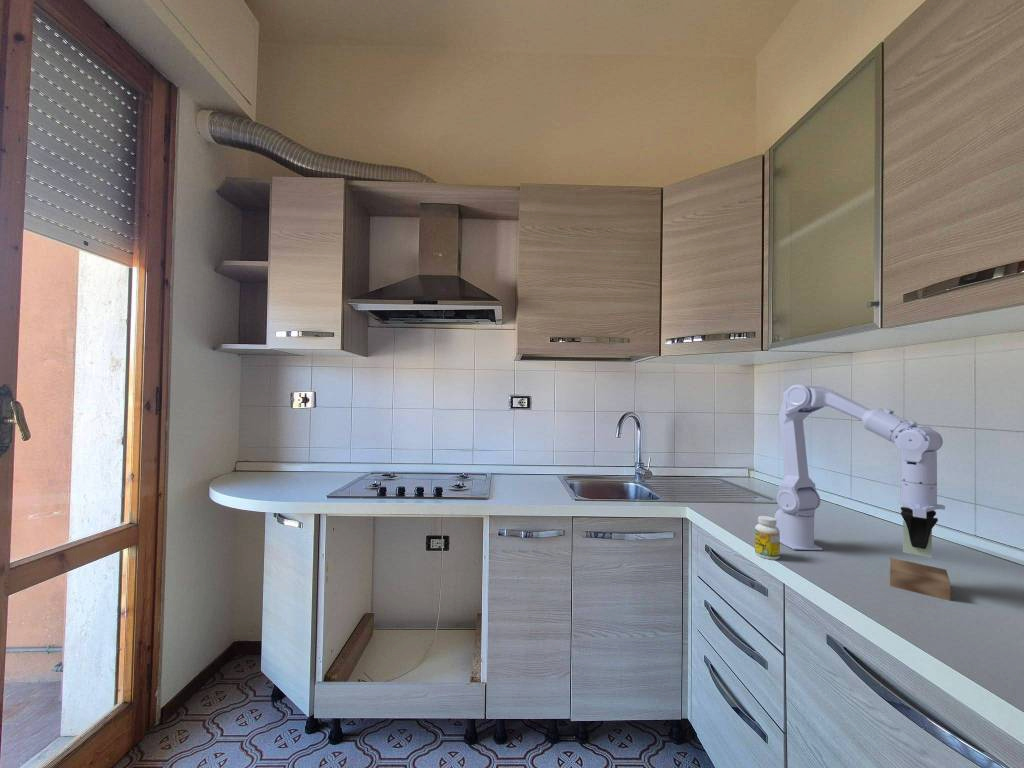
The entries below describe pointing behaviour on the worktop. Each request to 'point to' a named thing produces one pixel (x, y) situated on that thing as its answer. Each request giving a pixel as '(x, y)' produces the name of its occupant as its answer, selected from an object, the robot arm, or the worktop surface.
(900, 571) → the walnut block
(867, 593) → the worktop surface
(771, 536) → the supplement bottle
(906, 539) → the sage brick
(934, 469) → the robot arm
